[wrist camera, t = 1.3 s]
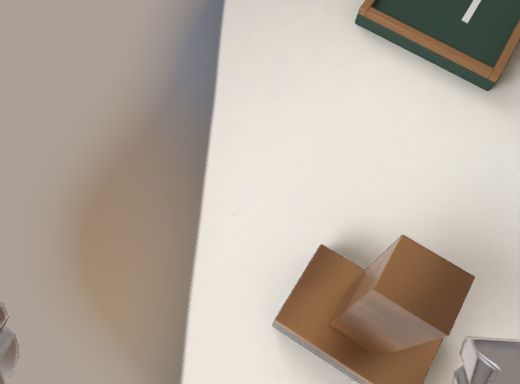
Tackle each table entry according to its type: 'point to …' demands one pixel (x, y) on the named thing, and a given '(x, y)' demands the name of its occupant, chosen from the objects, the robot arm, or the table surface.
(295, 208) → the table surface
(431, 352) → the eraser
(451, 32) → the chalkboard
